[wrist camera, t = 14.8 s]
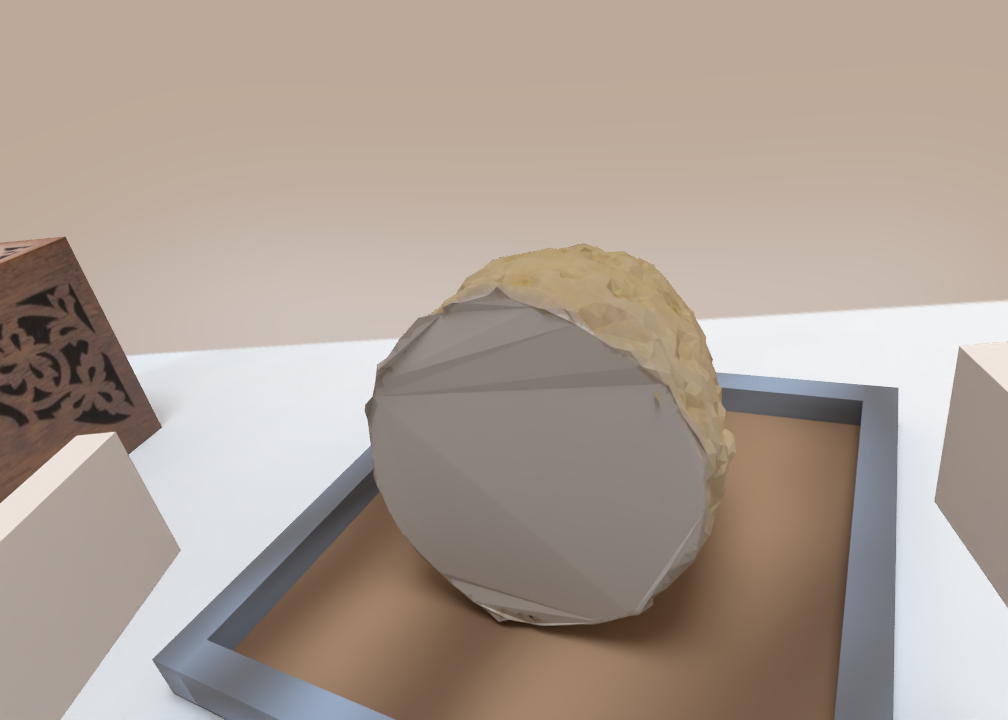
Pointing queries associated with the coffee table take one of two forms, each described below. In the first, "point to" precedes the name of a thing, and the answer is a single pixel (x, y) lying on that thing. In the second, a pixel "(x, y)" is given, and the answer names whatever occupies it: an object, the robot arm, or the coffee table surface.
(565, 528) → the coral
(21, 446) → the tissue box cover
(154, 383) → the coffee table surface
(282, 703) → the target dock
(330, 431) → the coffee table surface
